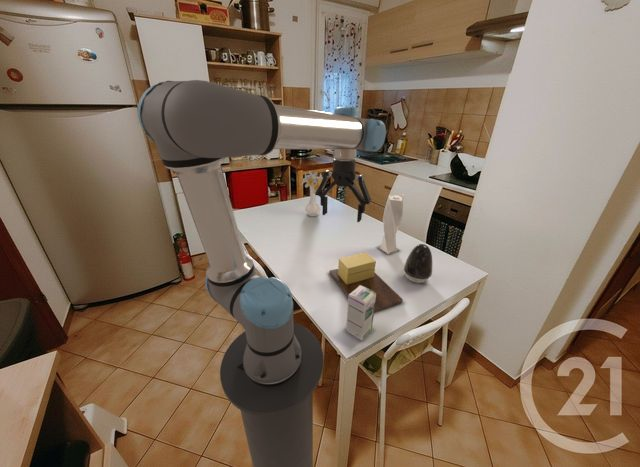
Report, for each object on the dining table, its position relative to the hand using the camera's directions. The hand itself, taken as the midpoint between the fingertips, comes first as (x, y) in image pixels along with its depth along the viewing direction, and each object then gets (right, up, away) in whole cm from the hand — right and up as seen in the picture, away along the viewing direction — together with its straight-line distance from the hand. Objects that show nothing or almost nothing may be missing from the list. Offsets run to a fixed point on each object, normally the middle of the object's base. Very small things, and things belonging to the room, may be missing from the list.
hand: (341, 217), depth 97 cm
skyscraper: (+24, -14, +25) cm, 37 cm away
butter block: (+6, -22, +5) cm, 24 cm away
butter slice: (+6, -18, +3) cm, 20 cm away
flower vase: (-12, +5, +60) cm, 62 cm away
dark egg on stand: (+30, -24, +6) cm, 39 cm away
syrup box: (+4, -36, -17) cm, 40 cm away
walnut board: (+8, -26, +1) cm, 27 cm away
